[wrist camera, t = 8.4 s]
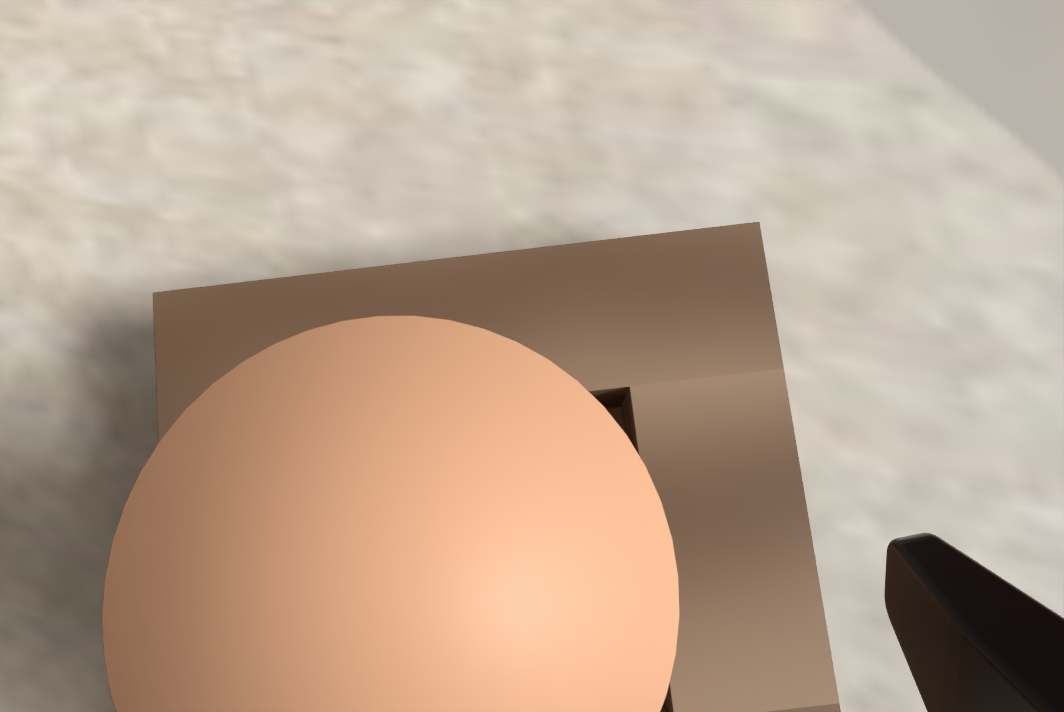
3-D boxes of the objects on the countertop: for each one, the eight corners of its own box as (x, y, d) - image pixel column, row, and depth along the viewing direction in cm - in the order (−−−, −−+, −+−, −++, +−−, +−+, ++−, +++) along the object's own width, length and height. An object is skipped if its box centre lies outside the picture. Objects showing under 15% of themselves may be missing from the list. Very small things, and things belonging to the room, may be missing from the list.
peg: (635, 615, 19) (785, 736, 7) (447, 712, 19) (238, 1026, 6) (541, 429, 20) (519, 225, 7) (359, 520, 19) (19, 467, 7)
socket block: (819, 828, 18) (868, 881, 16) (239, 894, 18) (179, 959, 16) (730, 268, 21) (759, 222, 18) (210, 328, 21) (152, 292, 18)
